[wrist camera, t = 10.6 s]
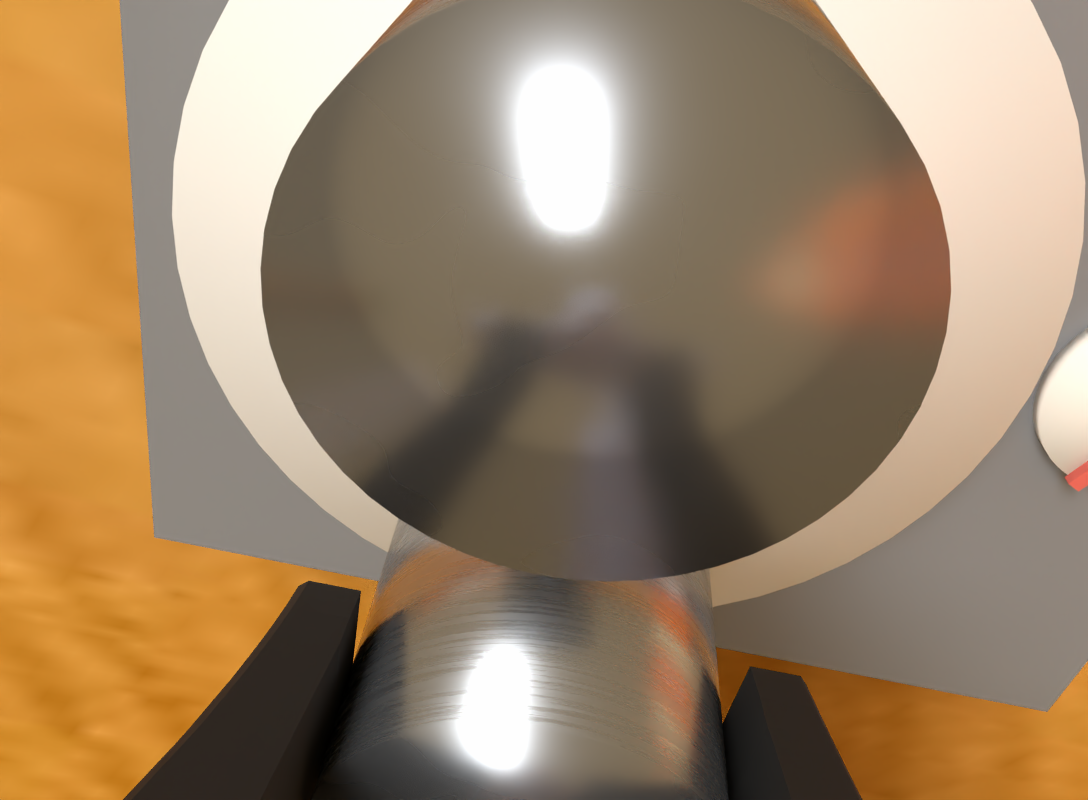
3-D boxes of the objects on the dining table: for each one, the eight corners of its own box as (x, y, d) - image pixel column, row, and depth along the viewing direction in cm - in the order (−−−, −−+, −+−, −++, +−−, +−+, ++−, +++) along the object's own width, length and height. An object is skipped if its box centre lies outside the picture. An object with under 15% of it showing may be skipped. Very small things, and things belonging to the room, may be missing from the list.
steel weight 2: (750, 425, 14) (812, 797, 9) (641, 622, 16) (643, 997, 12) (454, 334, 13) (347, 673, 9) (389, 551, 16) (277, 910, 11)
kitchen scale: (1486, -132, 13) (1767, -92, 9) (998, 595, 20) (1062, 748, 17) (202, -435, 12) (47, -500, 9) (214, 438, 20) (135, 568, 17)
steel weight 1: (851, -122, 10) (1063, 10, 5) (768, 267, 12) (851, 608, 8) (423, -155, 10) (217, -57, 5) (428, 236, 13) (293, 550, 8)
